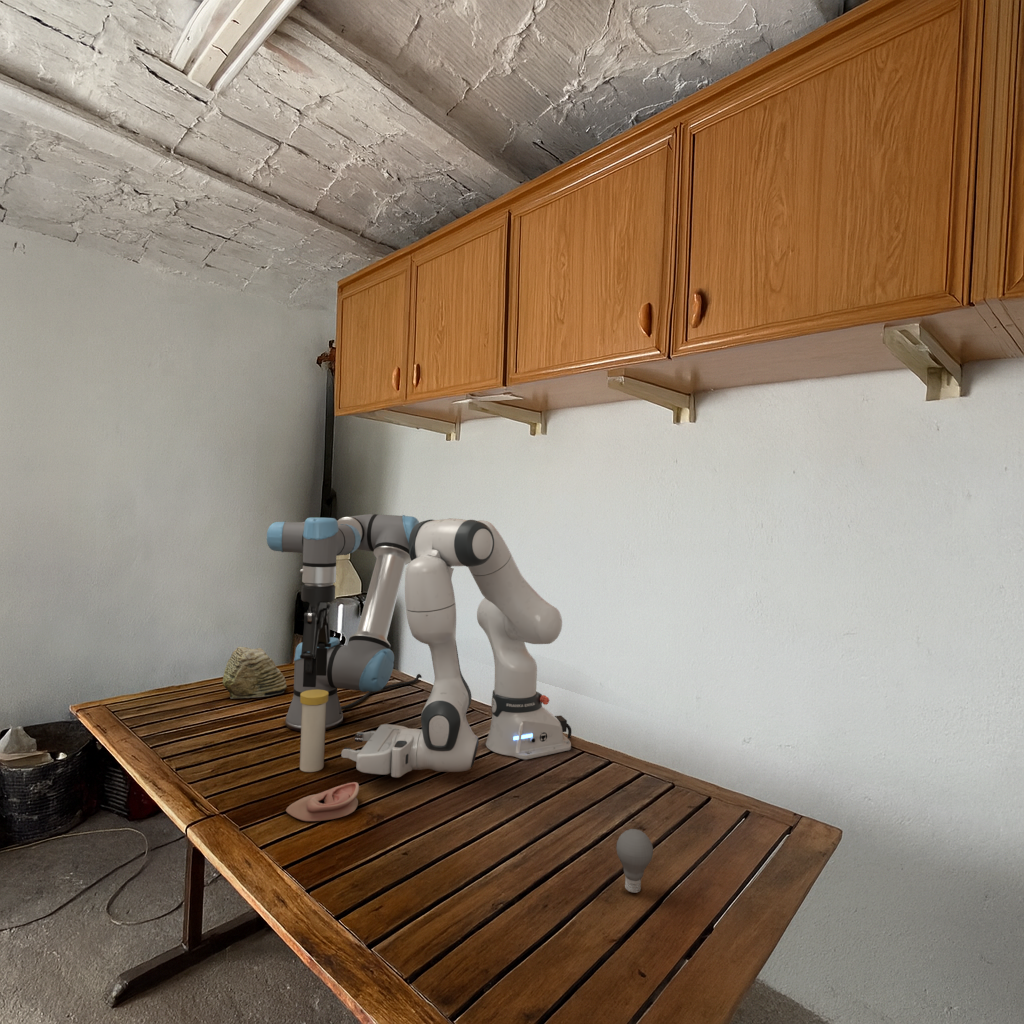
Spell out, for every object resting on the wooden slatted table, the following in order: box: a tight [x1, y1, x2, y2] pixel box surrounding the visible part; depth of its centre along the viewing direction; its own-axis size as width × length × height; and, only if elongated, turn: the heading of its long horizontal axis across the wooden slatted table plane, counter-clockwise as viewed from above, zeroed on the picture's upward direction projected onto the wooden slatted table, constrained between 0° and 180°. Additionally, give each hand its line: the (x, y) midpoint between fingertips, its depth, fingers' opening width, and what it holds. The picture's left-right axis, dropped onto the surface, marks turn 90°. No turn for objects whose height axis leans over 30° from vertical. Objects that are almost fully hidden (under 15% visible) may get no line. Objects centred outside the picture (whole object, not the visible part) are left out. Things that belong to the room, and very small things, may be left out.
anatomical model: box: [285, 781, 360, 822], centre depth 129 cm, size 13×4×12 cm
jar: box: [299, 703, 326, 773], centre depth 148 cm, size 5×5×17 cm
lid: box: [300, 689, 329, 705], centre depth 148 cm, size 6×6×2 cm
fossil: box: [222, 646, 288, 699], centre depth 198 cm, size 9×18×15 cm, turn 132°
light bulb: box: [615, 828, 654, 894], centre depth 106 cm, size 6×6×10 cm
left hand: (315, 680), depth 148 cm, fingers open, 9 cm apart
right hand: (349, 744), depth 147 cm, fingers open, 8 cm apart
